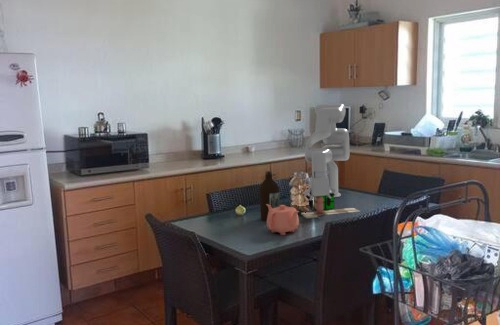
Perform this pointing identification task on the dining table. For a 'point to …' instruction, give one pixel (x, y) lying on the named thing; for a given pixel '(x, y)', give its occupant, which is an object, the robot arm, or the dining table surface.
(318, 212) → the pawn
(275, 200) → the olive oil
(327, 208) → the puzzle cube
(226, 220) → the dining table surface
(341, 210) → the board
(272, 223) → the teapot
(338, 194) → the robot arm
